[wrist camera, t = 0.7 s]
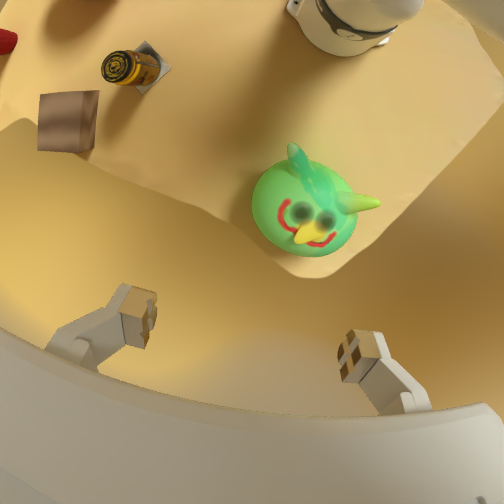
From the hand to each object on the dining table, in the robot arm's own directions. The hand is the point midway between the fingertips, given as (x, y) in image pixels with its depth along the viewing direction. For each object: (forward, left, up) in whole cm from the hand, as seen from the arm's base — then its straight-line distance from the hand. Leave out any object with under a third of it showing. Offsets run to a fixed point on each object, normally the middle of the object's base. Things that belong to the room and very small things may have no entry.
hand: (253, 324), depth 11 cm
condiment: (-11, -25, -43) cm, 51 cm away
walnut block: (0, -40, -43) cm, 59 cm away
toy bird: (+7, +9, -43) cm, 44 cm away
